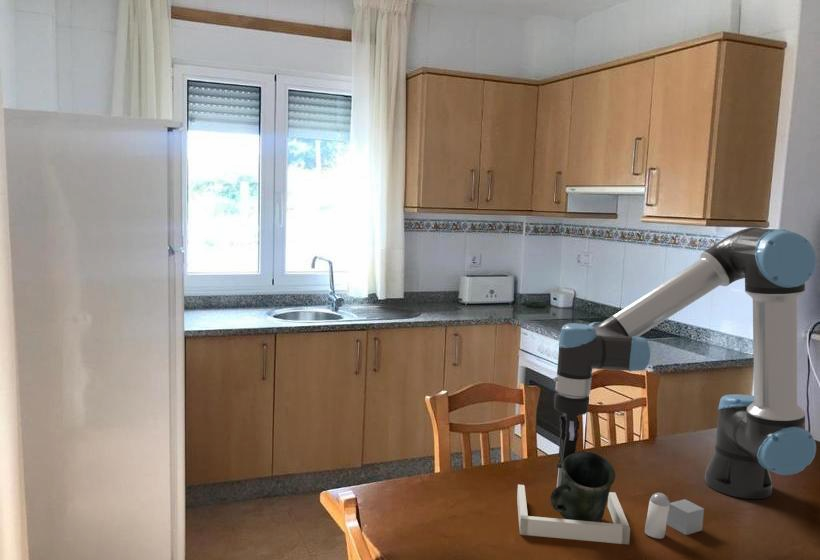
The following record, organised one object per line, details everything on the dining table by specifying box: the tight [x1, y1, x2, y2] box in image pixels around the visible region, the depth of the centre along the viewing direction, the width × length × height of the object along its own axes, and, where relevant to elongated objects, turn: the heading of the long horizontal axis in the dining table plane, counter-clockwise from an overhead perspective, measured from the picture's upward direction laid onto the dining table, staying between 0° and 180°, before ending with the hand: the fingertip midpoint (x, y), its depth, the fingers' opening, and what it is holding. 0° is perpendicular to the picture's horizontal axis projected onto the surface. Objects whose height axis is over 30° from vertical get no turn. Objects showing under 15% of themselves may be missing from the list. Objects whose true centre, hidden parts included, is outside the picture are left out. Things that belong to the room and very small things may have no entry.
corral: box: [516, 484, 631, 545], centre depth 148 cm, size 22×17×4 cm
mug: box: [549, 451, 616, 522], centre depth 146 cm, size 11×15×12 cm
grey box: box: [666, 499, 705, 536], centre depth 147 cm, size 5×5×5 cm
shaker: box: [644, 492, 670, 539], centre depth 143 cm, size 4×4×9 cm
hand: (562, 493), depth 154 cm, fingers closed
